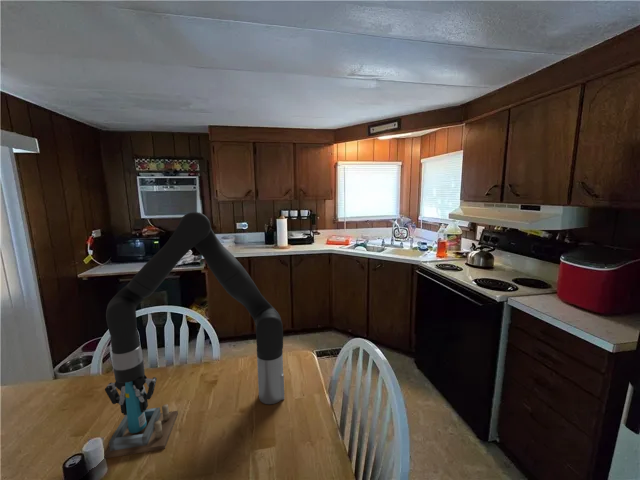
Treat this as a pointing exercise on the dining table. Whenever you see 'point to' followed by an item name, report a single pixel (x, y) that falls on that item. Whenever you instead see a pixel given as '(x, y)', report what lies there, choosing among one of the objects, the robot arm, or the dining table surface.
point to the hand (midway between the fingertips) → (135, 411)
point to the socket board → (143, 434)
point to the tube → (134, 410)
